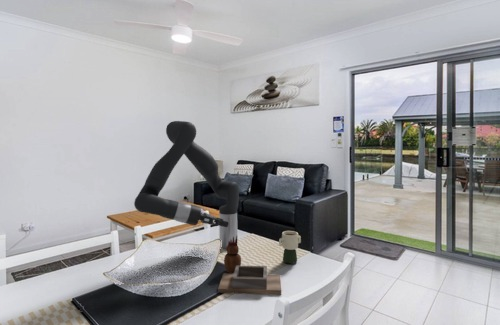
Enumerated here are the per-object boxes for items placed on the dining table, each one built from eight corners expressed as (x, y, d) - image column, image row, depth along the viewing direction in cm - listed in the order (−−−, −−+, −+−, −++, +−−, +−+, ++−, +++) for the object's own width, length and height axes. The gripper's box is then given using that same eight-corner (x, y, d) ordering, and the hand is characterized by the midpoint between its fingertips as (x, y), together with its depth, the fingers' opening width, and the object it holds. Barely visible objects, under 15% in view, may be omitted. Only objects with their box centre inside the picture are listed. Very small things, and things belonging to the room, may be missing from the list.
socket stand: (223, 276, 112) (223, 264, 112) (279, 278, 111) (280, 265, 110) (218, 292, 100) (218, 278, 100) (281, 294, 99) (281, 280, 98)
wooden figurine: (243, 270, 118) (243, 234, 117) (236, 276, 113) (236, 238, 112) (228, 267, 121) (228, 232, 120) (221, 272, 116) (221, 236, 115)
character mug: (296, 257, 132) (296, 229, 131) (304, 263, 125) (305, 233, 124) (275, 261, 127) (275, 232, 127) (283, 267, 121) (283, 237, 120)
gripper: (192, 205, 106) (232, 216, 112) (187, 202, 120) (223, 212, 125) (186, 225, 105) (227, 235, 110) (181, 220, 119) (218, 229, 124)
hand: (225, 223), depth 118 cm, fingers open, 8 cm apart
